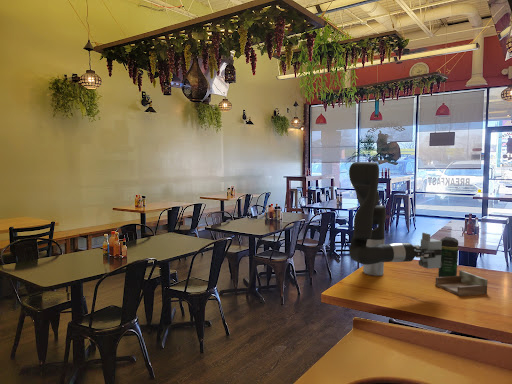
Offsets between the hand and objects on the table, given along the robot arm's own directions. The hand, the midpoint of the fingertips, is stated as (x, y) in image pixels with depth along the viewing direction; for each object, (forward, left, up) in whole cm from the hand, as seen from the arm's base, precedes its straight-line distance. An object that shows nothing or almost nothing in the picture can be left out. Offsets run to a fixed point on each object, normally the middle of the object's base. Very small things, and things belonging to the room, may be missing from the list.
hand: (436, 250), depth 160 cm
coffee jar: (-20, +22, -18) cm, 35 cm away
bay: (-2, +14, -18) cm, 23 cm away
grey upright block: (0, -3, -6) cm, 7 cm away
